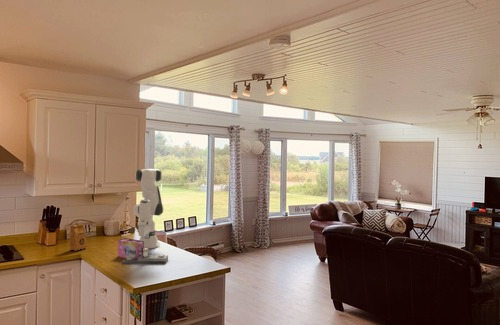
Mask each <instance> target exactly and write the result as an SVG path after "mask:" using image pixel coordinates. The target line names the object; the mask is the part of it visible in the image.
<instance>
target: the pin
mask: <svg viewBox="0 0 500 325" xmlns="http://www.w3.org/2000/svg"><path fill="white" fill-rule="evenodd" d="M148 251H149V249H148V248H144V249H143V258H148V255H149V254H148Z"/></svg>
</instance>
